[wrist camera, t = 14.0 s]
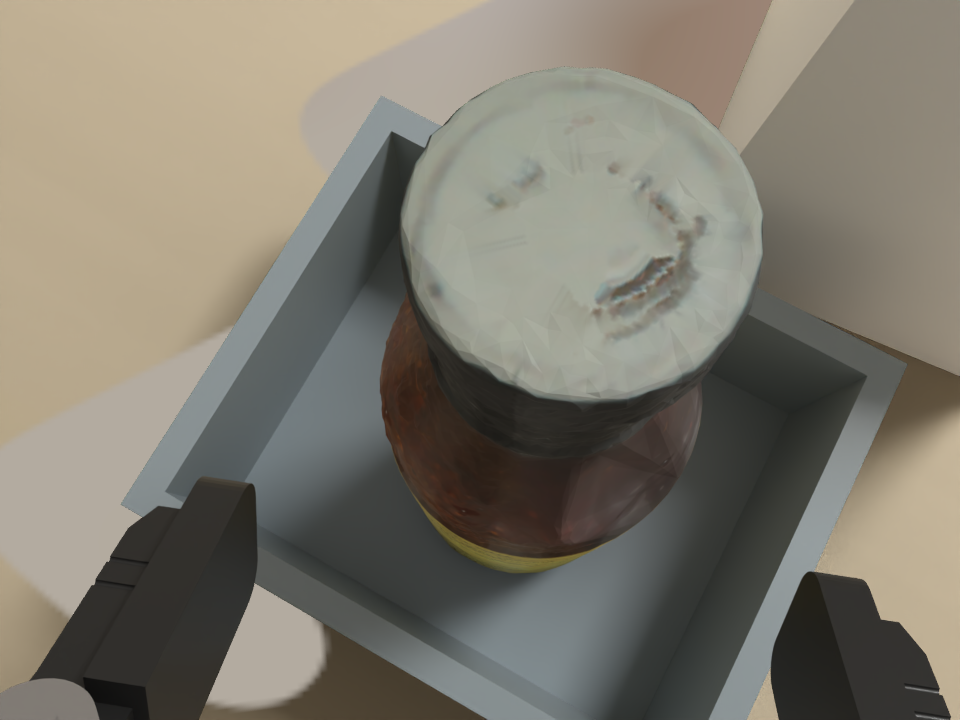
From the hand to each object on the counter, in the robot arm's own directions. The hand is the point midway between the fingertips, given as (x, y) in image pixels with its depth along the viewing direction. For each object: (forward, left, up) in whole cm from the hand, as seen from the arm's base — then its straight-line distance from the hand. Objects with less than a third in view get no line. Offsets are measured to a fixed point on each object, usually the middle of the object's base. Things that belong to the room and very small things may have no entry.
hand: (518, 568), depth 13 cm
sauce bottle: (-1, +3, -16) cm, 16 cm away
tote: (-1, +3, -16) cm, 17 cm away
